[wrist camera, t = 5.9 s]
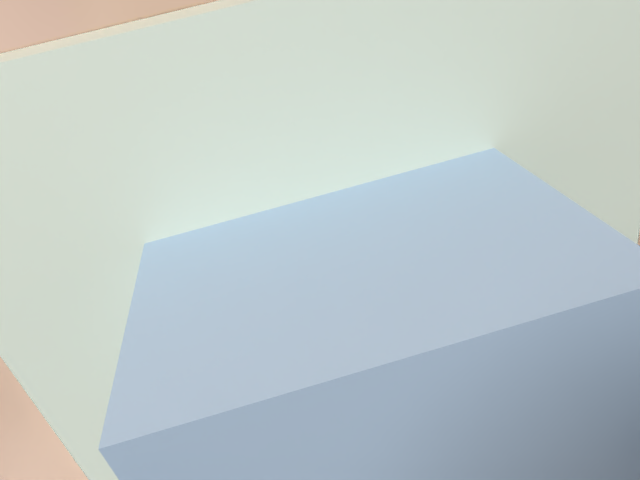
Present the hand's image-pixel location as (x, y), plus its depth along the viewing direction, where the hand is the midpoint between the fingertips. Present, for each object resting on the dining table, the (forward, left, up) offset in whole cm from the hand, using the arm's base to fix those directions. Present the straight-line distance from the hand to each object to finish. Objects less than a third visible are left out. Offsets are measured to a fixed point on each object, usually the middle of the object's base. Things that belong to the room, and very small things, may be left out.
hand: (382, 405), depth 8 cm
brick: (0, 0, -2) cm, 2 cm away
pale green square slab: (0, 0, -4) cm, 4 cm away
